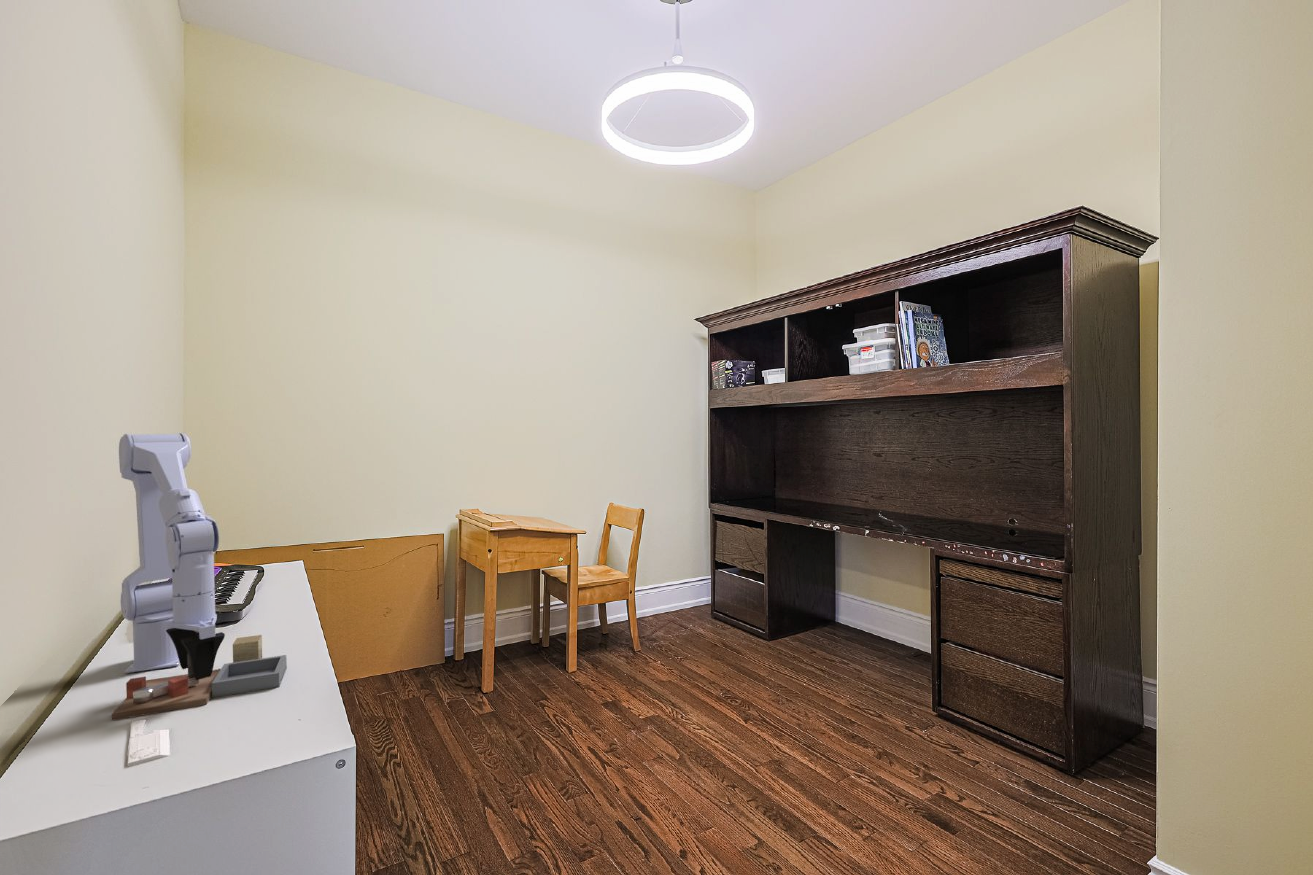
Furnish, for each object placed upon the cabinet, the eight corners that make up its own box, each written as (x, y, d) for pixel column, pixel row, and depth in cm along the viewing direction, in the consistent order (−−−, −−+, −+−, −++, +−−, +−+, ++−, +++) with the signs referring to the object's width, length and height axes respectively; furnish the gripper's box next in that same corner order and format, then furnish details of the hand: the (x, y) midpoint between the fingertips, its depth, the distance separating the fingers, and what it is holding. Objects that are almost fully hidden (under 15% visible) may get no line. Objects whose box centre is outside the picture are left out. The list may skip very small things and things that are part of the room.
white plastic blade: (173, 718, 96) (173, 711, 96) (175, 757, 84) (175, 749, 84) (130, 727, 93) (130, 720, 93) (126, 770, 81) (126, 762, 81)
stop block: (237, 664, 117) (236, 637, 117) (262, 660, 119) (261, 634, 119) (233, 671, 114) (232, 644, 114) (258, 667, 116) (258, 641, 115)
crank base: (142, 686, 108) (142, 666, 108) (225, 673, 113) (225, 654, 112) (111, 720, 95) (111, 697, 95) (206, 704, 100) (205, 682, 100)
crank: (197, 680, 107) (196, 650, 106) (204, 683, 105) (203, 652, 105) (130, 700, 99) (129, 667, 99) (136, 704, 97) (135, 671, 97)
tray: (224, 676, 111) (224, 663, 111) (286, 667, 115) (286, 654, 115) (212, 697, 102) (211, 683, 102) (279, 686, 106) (279, 672, 106)
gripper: (153, 590, 106) (155, 669, 106) (176, 604, 97) (179, 691, 97) (202, 582, 111) (204, 657, 112) (229, 594, 102) (231, 676, 102)
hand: (196, 672), depth 105 cm, fingers open, 7 cm apart
